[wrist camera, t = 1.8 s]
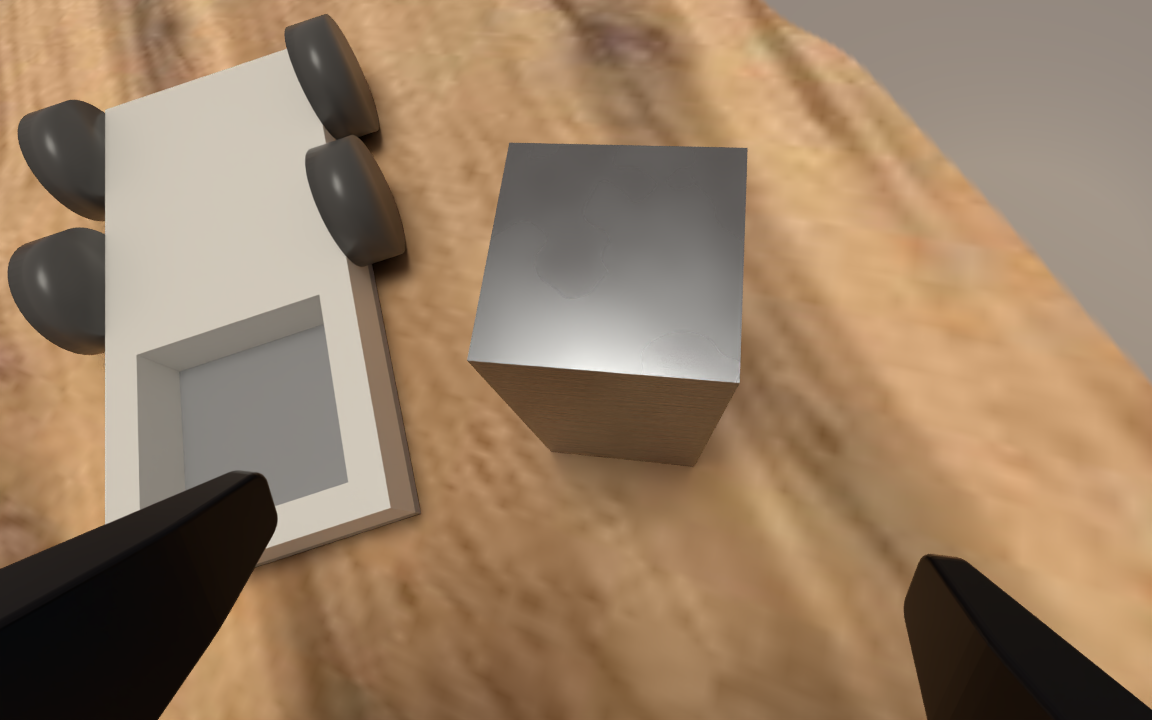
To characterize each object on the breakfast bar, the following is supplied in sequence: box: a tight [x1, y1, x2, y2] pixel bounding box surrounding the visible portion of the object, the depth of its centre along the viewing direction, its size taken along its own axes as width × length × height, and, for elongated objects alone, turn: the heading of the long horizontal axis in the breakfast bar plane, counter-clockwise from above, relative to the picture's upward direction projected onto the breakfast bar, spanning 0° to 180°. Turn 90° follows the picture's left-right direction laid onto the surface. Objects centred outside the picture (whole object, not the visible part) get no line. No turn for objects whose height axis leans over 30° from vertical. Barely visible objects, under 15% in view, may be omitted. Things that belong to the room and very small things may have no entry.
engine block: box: [467, 143, 747, 467], centre depth 16 cm, size 5×5×10 cm
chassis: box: [8, 14, 421, 567], centre depth 21 cm, size 21×13×5 cm, turn 17°
